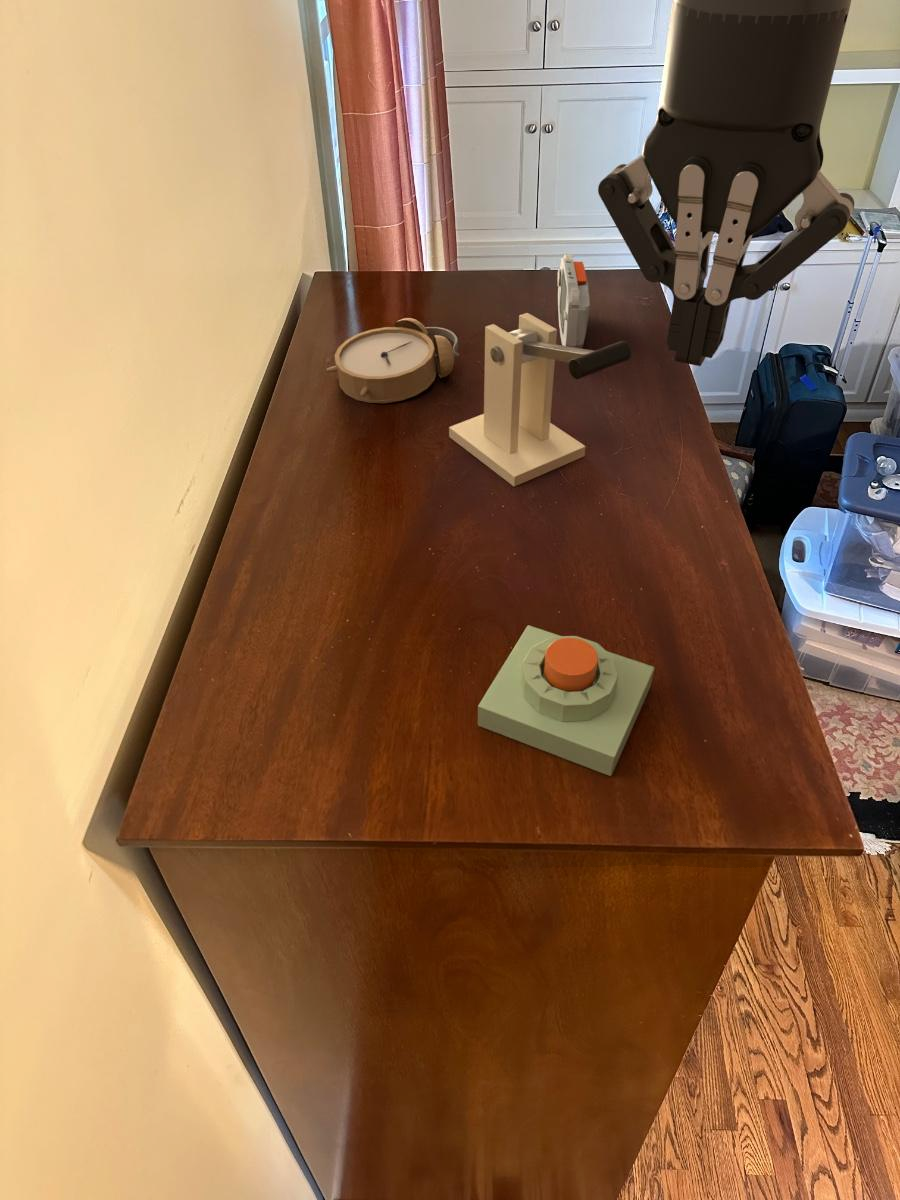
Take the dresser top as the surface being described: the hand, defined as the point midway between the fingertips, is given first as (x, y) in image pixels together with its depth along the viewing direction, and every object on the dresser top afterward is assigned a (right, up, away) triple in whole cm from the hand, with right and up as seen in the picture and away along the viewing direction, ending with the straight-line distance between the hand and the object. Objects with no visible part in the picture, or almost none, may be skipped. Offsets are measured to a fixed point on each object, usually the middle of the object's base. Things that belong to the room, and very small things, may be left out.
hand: (691, 358), depth 49 cm
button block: (-5, -22, +13) cm, 26 cm away
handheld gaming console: (+1, +19, +57) cm, 60 cm away
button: (-5, -19, +11) cm, 23 cm away
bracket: (-7, +2, +39) cm, 39 cm away
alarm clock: (-20, +12, +50) cm, 55 cm away
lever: (-4, +7, +28) cm, 29 cm away
